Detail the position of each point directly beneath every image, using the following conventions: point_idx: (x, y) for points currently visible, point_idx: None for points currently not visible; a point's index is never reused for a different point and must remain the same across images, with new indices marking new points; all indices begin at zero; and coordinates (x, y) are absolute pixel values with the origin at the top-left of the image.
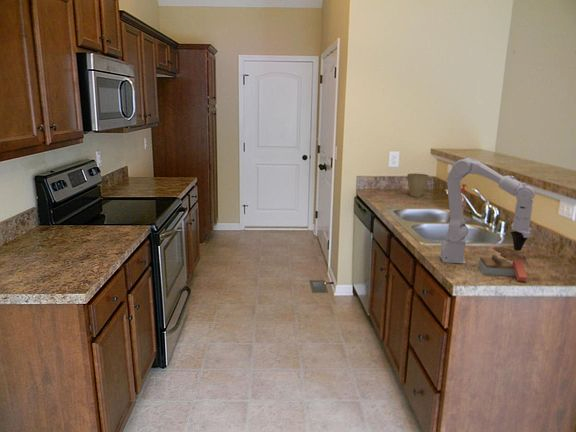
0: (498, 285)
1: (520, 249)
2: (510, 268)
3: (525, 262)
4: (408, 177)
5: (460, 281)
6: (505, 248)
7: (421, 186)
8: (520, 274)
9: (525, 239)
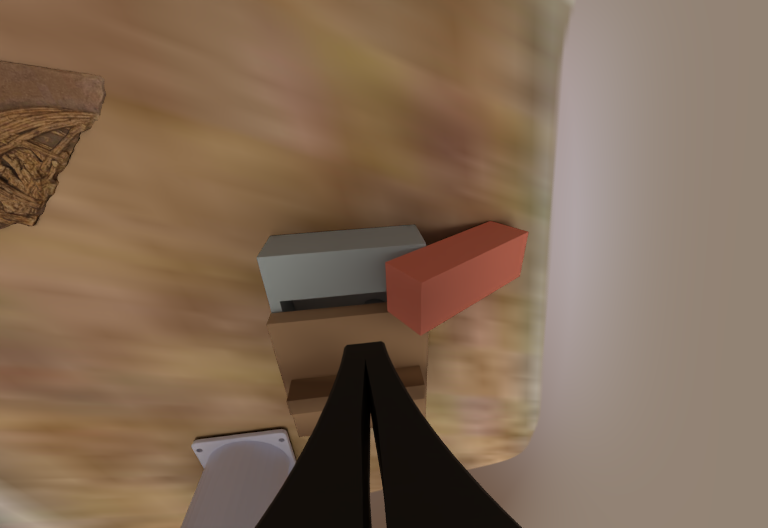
0: (540, 346)
1: (388, 356)
2: None
3: (30, 90)
4: None
5: (499, 443)
6: None
7: None
8: (510, 272)
9: (483, 498)
